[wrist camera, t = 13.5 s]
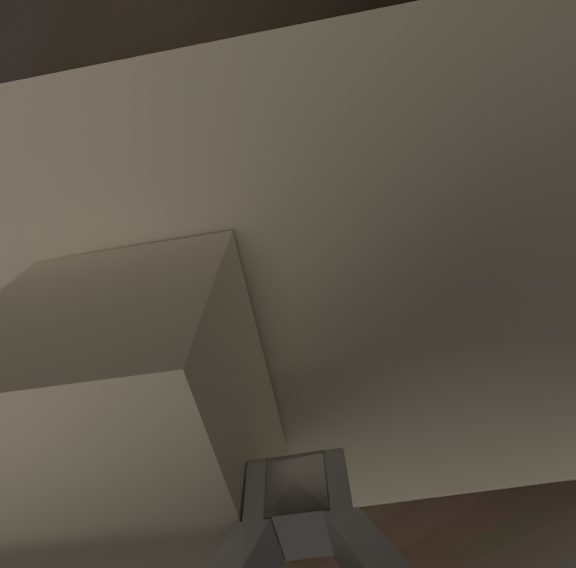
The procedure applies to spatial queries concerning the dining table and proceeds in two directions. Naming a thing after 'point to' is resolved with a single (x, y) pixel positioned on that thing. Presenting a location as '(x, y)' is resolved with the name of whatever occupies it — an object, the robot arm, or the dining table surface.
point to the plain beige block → (130, 406)
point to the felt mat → (349, 221)
